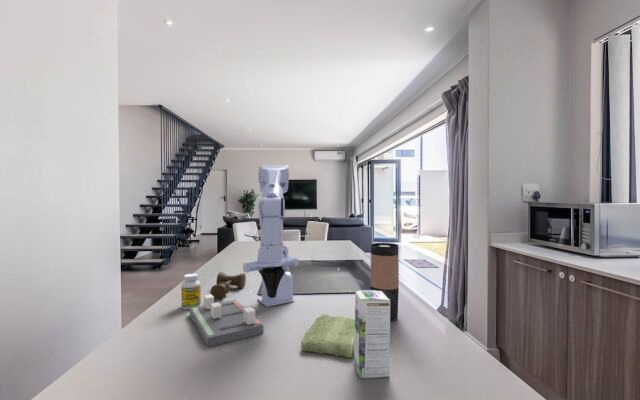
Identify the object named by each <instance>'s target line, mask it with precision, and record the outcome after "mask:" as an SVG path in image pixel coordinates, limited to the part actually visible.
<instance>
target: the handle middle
mask: <svg viewBox="0 0 640 400" xmlns="http://www.w3.org/2000/svg"><path fill="white" fill-rule="evenodd" d="M211 316H212V318H213V319H216V318H221V317H222V306H221V304H220V302H214V303H212V304H211Z"/></svg>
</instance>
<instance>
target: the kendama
mask: <svg viewBox="0 0 640 400" xmlns="http://www.w3.org/2000/svg"><path fill="white" fill-rule="evenodd" d="M246 279H247V277H246V273H245V272H243V273H239V274H237V275H228V274H226V273H224V272H223V271H220V272H218V274H217V276H216V284H214V285H212V286H211V289H210V291H209V292H210V294H212V296H213V297H214V300H216V299H217V300H216V301H218V300H223V299H224V298H225V297H226V294H228V293H229V291H230V286H234V287H237V288H238V289H241V290H242V289H244V288H245V285H246V283H247V282H246ZM210 294H209V295H210Z"/></svg>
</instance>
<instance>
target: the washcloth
mask: <svg viewBox="0 0 640 400" xmlns="http://www.w3.org/2000/svg"><path fill="white" fill-rule="evenodd" d="M354 336H355V318H350V317H346V316H342V315H340V316H338V315H337V316H333V315H332V316H331V315H328V314H327V313H326V314H325V313H324V314H321V315H319V316H318V317H317V318H316V319H315V321H314V322H313V323H312V325H310V327H309V329H308V330H306V332H305V333H304V336H303V338H302V340H301V342H300V343H301V345H300V347H301V351H304V352H311V353H312V352H313V353H317V354H321V355H323V354H329V355H334V356H336V357H342V358H343V357H344V358H347V359H354Z"/></svg>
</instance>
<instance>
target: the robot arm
mask: <svg viewBox="0 0 640 400" xmlns="http://www.w3.org/2000/svg"><path fill="white" fill-rule="evenodd" d="M289 167H290V166H288V165H266V164H265V165H262V164H260V165H259V166H258V171H257V173H258V182H259V189H260V192H261V199H258V206H257V207H258V208H257V209H258V211H257V213H258V219H259V220H258V221H259V227H260V230H259V231H260V239H259V240H260V245H259V246H260V247H259V248H258V250H257V251H258V252H257V260H256V261H251V262H245V263H242V272H243V273H244V274H247V273H250V272H256V271H257V272H258V273H259V274H260V276H261V297H257V299H256V300H257V301H258V302H260V303H261V304H263V306H265V308H266V307H274V306H278V305H283V304H287V303H292V302H295V299H294V278H293V275H292V273H291V272H290V267H298V266H299V258H297V257H290V254H289V248H288V246H287V245H285V244H284V238H283V237H284V219H285V214H286V213H285V212H286V211H285V198H284V194H285V193H287V192H288V189H289V182H290V180H289V178H290V172H289V171H290V168H289Z"/></svg>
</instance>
